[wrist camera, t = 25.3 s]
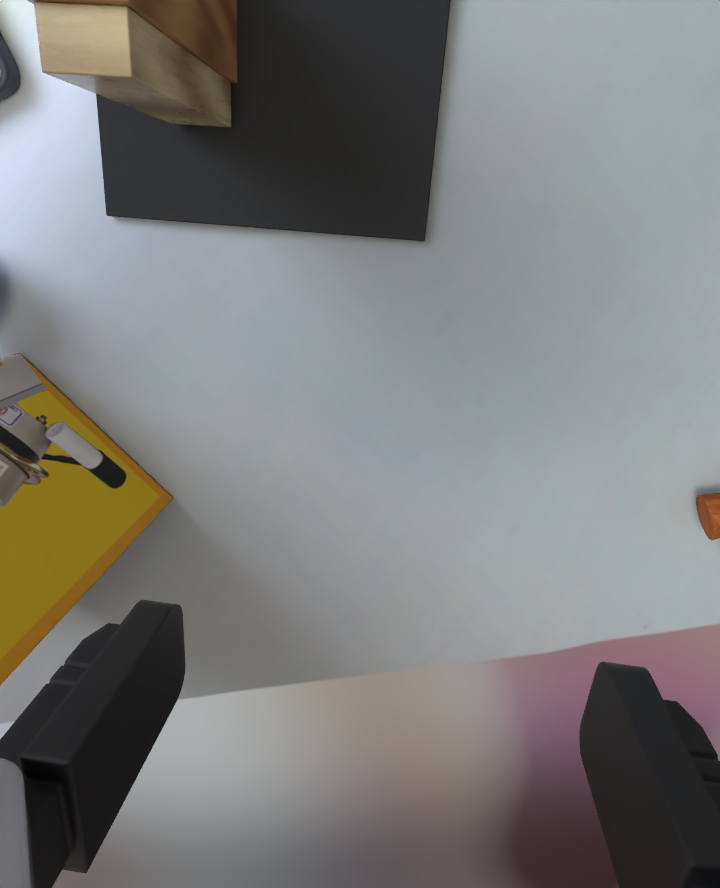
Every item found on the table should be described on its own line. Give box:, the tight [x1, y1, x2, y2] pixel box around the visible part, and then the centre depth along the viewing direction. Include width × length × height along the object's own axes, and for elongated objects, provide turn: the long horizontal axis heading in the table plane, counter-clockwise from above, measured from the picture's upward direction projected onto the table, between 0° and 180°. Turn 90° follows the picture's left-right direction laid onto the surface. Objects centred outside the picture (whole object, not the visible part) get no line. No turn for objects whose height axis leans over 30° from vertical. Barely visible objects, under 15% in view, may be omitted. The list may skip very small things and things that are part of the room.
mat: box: [96, 0, 450, 241], centre depth 35 cm, size 22×20×1 cm
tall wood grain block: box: [28, 0, 237, 127], centre depth 29 cm, size 14×5×8 cm
